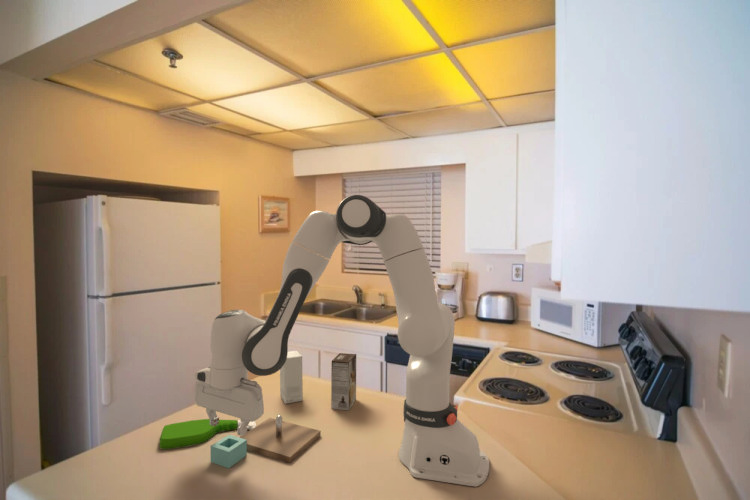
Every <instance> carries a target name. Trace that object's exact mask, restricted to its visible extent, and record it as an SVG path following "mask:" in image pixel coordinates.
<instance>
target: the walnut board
mask: <svg viewBox="0 0 750 500" xmlns="http://www.w3.org/2000/svg"><path fill="white" fill-rule="evenodd" d="M321 431H322V430H319V429H314V428H311V427H307V426H303V425H300V424H296V423H292V422H288V421H283V420H282V436H280V437H277V436H276V418H272V417H269V418H267V419H266V420H264V421H263V422H262V421H261V423H259V424H258V425H256V427H255V428H253V429H252V430H249V431H248V430H247V433H246V434H244V435H240V436H238V437H239V438H242V439H246V440H247V451H251V452H253V453H257V454H260V455H262V456H266V457H270V458H272V459H273V458H274V459H276V460H280V461H283V462H285V463H286V462H287V463H289V464H290V463H292V462H293V461H294V460H295V459H296V458H297V457H299V456H300V455H301V454H302V453H303V452H304V451H305V450H307V448H308V447H309V448H310V446H311V445H313V444H314V442H315V441H317V440H318V439H319V438H320V437H321V436H322V435H321V434H322V433H321Z"/></svg>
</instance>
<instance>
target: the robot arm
mask: <svg viewBox="0 0 750 500" xmlns="http://www.w3.org/2000/svg"><path fill="white" fill-rule="evenodd" d="M372 242H373V243H374V244H375V245H376V246H377V247H378V249H379V251H380V255H381V257H382V261H383V262H384V263H383V264H384V266H385V269H386V272H387V273H386V274H387V276H388V279H389V282H390V284H391V288H392V292H393V297H394V301H395V302H394V303H395V309H396V316H397V323H398V326H397V327H398V328H397V338H398V340H397V341H398V343H399V345H400V347H401V348H402V350H403V351H404V352H406V353H407V354H409V358H408V363H407V366H406V367H407V368H406V371H405V372H406V373H405V374H406V377H405V387H406V388H405V399H404V401H403V414H402V415H403V422H404V428H403V434H402V435H403V436H402V439H401V444H400V448H399V451H398V458H399V460H400V462H401V463H402V464H403V466H405V467H406V468H407V469H408V470H409V473H410V474H411V476H412V477H414V478H418V479H422V480H430V481H437V482H442V483H449V484H454V485H455V484H456V485H461V486H468V487H478V486H481V485H482V484H484V482H486V480H487V478H488V475H489V473H490V461H489V457H488V455H487V454H486V453H485V452H484V451H482V450H480V444H479V440H478V438H477V436H476V434H475V433H474V432H473V431H471V430H470V429H469V428H468V427H467V426H465V425H464V423H462V422H461V421H460V420H459V419H458V407H459V406H458V404H456V405H455V407H454V405H453V404H452V403H451V402H450V382H451V381H450V380H451V379H450V378H451V366H452V358H453V350H454V349H453V347H454V340H455V339H454V337H455V336H454V335H455V325H456V324H455V323H456V321H455V315H454V313H453V311H452V309H451V308H450V307H449V306H448V305H446V304H445V303H441V302H439V300H438V297H437V292H436V287H435V276H434V273H433V270H432V268H431V264H430V262H429V259H428V256H427V253H426V251H425V248H424V247H425V246H424V245H423V242H422V240H421V238H420V236H419V233H418V232H417V230H416V228H415V226H414V224H413V222H412V221H411V219H410V218H409V217H408V216H407V215H404V214H398V213H396V214H390V215H387V213H386V212H385V211H384V210H383V209H382V208H381V207H379V205H378V204H376V202H374V201H373V200H372V199H370V198H369V197H366V196H364V195H363V194H362V195H361V194H352V195H349V196H347V197H345V198H344V199H343V200H342V201H341V202H340V203H339V204H338V207H337V209H336V213H330V212H328V211H324V210H315V211H312V212H311V213H309V214H308V216H307V217H306V218H305V219H304V221H303V222H302V223H301V225H300V226H299V228H298V230H297V232H296V233H295V235H294V237H293V239H292V241H291V242H290V245H289V246H288V249H287V251H286V254H285V256H284V257H285V258H284V260H283V265H282V270H281V271H282V272H281V273H282V275H281V283H280V287H279V288H280V289H279V292H278V295H277V297H276V299H275V301H274V303H273V305H272V307H271V310H270V311H269V314H268V316H267V318H266V319H262V318H258V317H255V316H254V315H252V314H250V313H248V312H247V311H246V310H244V309H231V310H228V311H224V312H222V313H220V314H218V315H217V316H216V317H215V318H214V319H213V322H212V325H211V330H210V331H211V332H210V351H211V352H210V353H211V356H212V357H211V359H210V360H211V361H210V362H209V365H210V366H208V367H205V368H202V369H200V370H198V371H195V372H194V379H195V380H196V381H195V383H194V392H193V393H194V394H193V395H194V396H193V397H194V402H195V404H196V406H197V407H201V408H204V409H205V411H206V415H207V417H208V419H210V425H212V426H216V425H218V424H219V420H220V417H219V416H218V415H217V412H218V413H221V414H225V415H228V416H231V417H234V418H238V419H240V420H241V422H243V423H242V425H241V426H239V427H238V428H237V429H236V430H237V431H238V432H237V434H238V435H240V436H242V435H244V434H246V433H247V432H248V429H247V426H248V424H249V422H253V421H255V422H256V421H257V420H259V419H260V418H261V417H262V416H263V415H264V413H265V411H264V409H265V408H264V396H263V391H262V390H263V389H262V386H260V384H259V383H258V381H255V380H251V379H248V376H249V375H248V372H249V373H251V374H253V375H255V376H260V377H264V376H265V377H266V376H270V375H273V374H276V373H277V372H280V369H281V368H282V367H283V365H284V364H285V362H286V359H287V352H289V351H288V345H289V336H290V335H291V332H292V329H293V327H294V325H295V323H296V320H297V319H298V316H299V314H300V312H301V309H302V308H303V306H304V304H305V302H306V299H307V297H308V296H309V294H310V293H311V291H312V290H313V288H314V287H315V286H316V284H317V282H318V281H319V280H320V278H321V276H322V275H323V273H324V272H325V269H326V268H327V266H328V264H329V263H330V260H331V258H332V257H333V254H334V252H335V250H336V249H337V247H338V246H339V244H341V243H342V244H348V245H349V244H351V245H355V246H356V245H357V246H364V245H367V244H370V243H372Z"/></svg>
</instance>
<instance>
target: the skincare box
mask: <svg viewBox="0 0 750 500" xmlns="http://www.w3.org/2000/svg"><path fill="white" fill-rule="evenodd" d="M279 381H280V382H279V386H280V391H279V394H280V395H279V396H280V398H281V399H282V401H283V402H284V404H285V405H286V404H292V403H297V402H302V401H303V400H304V396H303V395H304V392H303V391H304V390H303V389H304V388H303V356H302V354H300V352H298V351H297V350H292V351H288V352H287V359H286V362H285V364H284V365H283V367H282V368H281V369H280V370H279Z"/></svg>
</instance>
